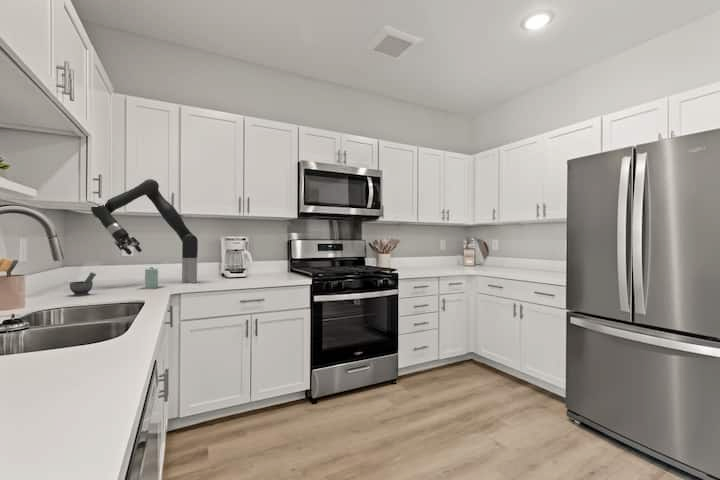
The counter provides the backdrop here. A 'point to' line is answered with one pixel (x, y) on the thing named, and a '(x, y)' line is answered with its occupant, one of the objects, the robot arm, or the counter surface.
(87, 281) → the mortar and pestle
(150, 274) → the green canister
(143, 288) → the board
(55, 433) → the counter surface
